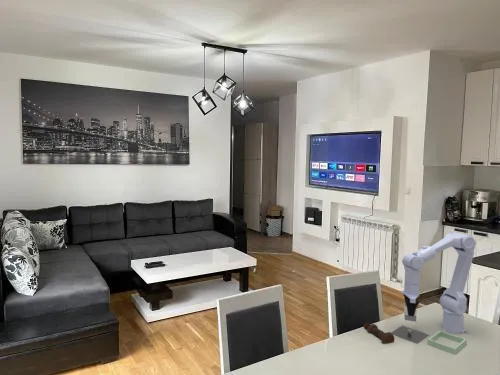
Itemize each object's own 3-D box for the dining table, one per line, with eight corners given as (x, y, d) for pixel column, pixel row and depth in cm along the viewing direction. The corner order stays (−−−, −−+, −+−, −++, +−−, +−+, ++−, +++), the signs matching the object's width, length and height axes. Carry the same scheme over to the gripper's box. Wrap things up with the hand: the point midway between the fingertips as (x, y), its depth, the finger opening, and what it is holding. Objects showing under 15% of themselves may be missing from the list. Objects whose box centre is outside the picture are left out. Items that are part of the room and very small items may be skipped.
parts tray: (439, 337, 156) (439, 330, 156) (466, 346, 149) (466, 339, 148) (427, 346, 148) (427, 339, 148) (454, 357, 140) (455, 349, 140)
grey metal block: (415, 317, 158) (415, 302, 157) (416, 321, 154) (416, 306, 153) (404, 316, 159) (404, 301, 159) (404, 320, 155) (405, 305, 155)
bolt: (367, 333, 163) (390, 348, 149) (359, 329, 162) (382, 344, 148) (373, 321, 164) (396, 335, 150) (365, 317, 162) (388, 331, 148)
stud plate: (402, 327, 165) (402, 320, 165) (429, 337, 156) (430, 329, 156) (389, 335, 157) (389, 328, 157) (417, 346, 148) (417, 338, 148)
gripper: (400, 276, 163) (399, 306, 164) (402, 286, 150) (401, 318, 151) (417, 278, 161) (416, 308, 162) (421, 288, 147) (420, 321, 148)
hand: (410, 313), depth 156 cm, fingers closed on grey metal block, 4 cm apart
